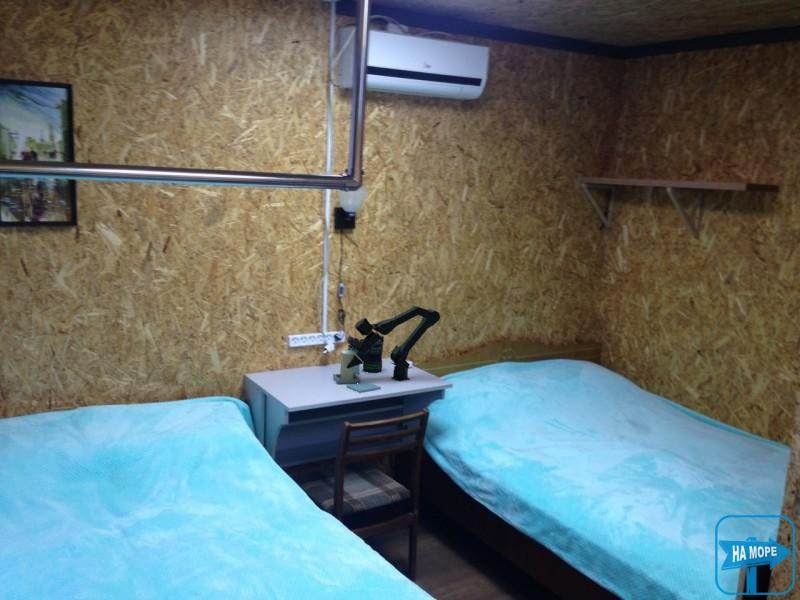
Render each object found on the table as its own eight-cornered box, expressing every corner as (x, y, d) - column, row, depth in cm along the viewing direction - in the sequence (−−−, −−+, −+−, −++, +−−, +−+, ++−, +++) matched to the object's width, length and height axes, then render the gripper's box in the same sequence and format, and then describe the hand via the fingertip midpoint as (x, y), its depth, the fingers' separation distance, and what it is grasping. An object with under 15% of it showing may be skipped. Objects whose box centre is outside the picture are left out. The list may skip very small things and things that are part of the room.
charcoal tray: (354, 377, 330) (354, 373, 330) (359, 383, 320) (360, 379, 320) (333, 378, 327) (333, 374, 326) (337, 384, 317) (337, 380, 316)
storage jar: (358, 369, 345) (360, 340, 343) (375, 367, 351) (376, 338, 348) (368, 374, 337) (370, 344, 335) (385, 372, 343) (387, 343, 340)
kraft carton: (350, 378, 326) (351, 350, 324) (352, 380, 322) (353, 352, 320) (340, 378, 325) (341, 350, 323) (342, 381, 320) (343, 353, 318)
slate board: (367, 383, 320) (367, 381, 320) (380, 389, 313) (380, 387, 312) (346, 387, 313) (346, 385, 313) (359, 392, 305) (359, 390, 305)
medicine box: (341, 372, 338) (341, 355, 336) (346, 370, 342) (346, 353, 340) (354, 375, 334) (355, 358, 333) (359, 373, 338) (360, 356, 337)
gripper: (352, 326, 330) (329, 349, 328) (362, 334, 312) (337, 358, 311) (368, 342, 333) (345, 364, 332) (377, 351, 316) (353, 375, 314)
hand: (344, 365), depth 322 cm, fingers open, 9 cm apart
